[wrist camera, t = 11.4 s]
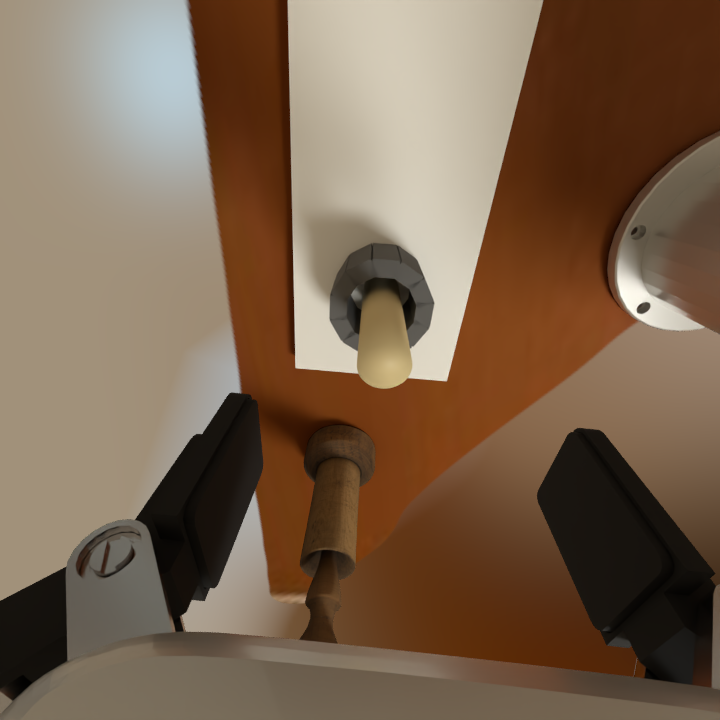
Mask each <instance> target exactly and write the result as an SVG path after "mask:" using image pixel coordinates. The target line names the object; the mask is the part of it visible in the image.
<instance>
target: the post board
mask: <svg viewBox="0 0 720 720" xmlns="http://www.w3.org/2000/svg"><path fill="white" fill-rule="evenodd" d="M542 4H543V0H288V38H289V85H290V131H291V178H292V225H293V271H294V318H295V365H296V368H302V369H313V370H325V371H336V372H347V373H359V375H360V377H361V378H362V379H363V380H364V381H365V382H366V383H367V384H369V385H371V386H373V387H377V388H392V387H395V386H398V385H400V384H401V383H403V382H404V381H405V380H406V379H407V378H416V379H427V380H439V381H447V378H448V374H449V370H450V366H451V362H452V358H453V354H454V351H455V347H456V343H457V339H458V335H459V331H460V327H461V323H462V319H463V315H464V311H465V307H466V303H467V299H468V295H469V291H470V288H471V284H472V280H473V276H474V272H475V268H476V264H477V260H478V256H479V252H480V248H481V244H482V240H483V236H484V232H485V228H486V225H487V221H488V217H489V213H490V209H491V205H492V201H493V197H494V193H495V189H496V185H497V181H498V177H499V173H500V169H501V165H502V162H503V158H504V154H505V150H506V146H507V142H508V138H509V134H510V130H511V126H512V122H513V118H514V114H515V110H516V106H517V102H518V99H519V95H520V91H521V87H522V83H523V79H524V75H525V71H526V67H527V63H528V59H529V55H530V51H531V47H532V43H533V39H534V36H535V32H536V28H537V24H538V20H539V16H540V12H541V8H542ZM371 243H372V245H373V243H381V244H393V245H397V246H400V247H401V248H402V249H404V250H405V251H406V252H408V253H409V254H410V255H412V256H413V257H415V258H416V259H417V260H418V263H419V265H420V268H421V270H422V272H423V275H424V277H425V280H426V282H427V285H428V287H429V290H430V292H431V295H432V297H433V300H434V308H433V314H432V319H431V324H430V327H429V329H428V331H427V332H426V333H425V334H424V335H423V336H422V338H421V339H420V340H419V341H418V342H417V343H416V344H415V346H414V347H413V346H412V348H410V347H409V341H408V336H407V330H406V325H405V319H404V314H403V308H402V306H403V304H404V303H405V302H406V301H407V299H408V296H409V289H408V288H407V287H405V286H404V285H403V284H401V283H400V282H398V281H397V280H395V279H392V278H379V277H374V278H372V279H370V280H368V281H365V282H363V283H361V284H359V285H357V287H356V288H355V290H354V291H353V292H352V294H351V296H352V298H353V300H354V302H355V304H356V306H357V307H358V308H359V309H361V310H362V311H361V322H360V333H359V344H358V351H356V350H354V349H353V348H351V347H350V346H348V345H346V344H345V343H343V341H341V340H340V338H339V336H338V334H337V333H336V331H335V329H334V327H333V326H332V324H331V322H330V319H329V312H330V293H331V290H332V287H333V284H334V281H335V278H336V275H337V273H338V271H339V270H340V268H341V267H342V265H343V264H344V262H345V261H346V259H347V257H348V256H349V255H350V254H351V253H352V252H355V251H357V250H359V249H361V248H363V247H365V246H367V245H369V244H371Z"/></svg>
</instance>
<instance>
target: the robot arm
mask: <svg viewBox="0 0 720 720" xmlns="http://www.w3.org/2000/svg"><path fill="white" fill-rule="evenodd" d="M607 272H608V281H609V287H610V289H611V292H612V294H613V297H614V299H615V300H616V302H617V303H618V304H619V306H620V307H621V308H622V310H624V311H625V312H626V313H628V314H629V315H630V316H631V317H633V318H634V319H636V320H638V321H640V322H642V323H643V324H645V325H647V326H650V327H654V328H657V329H660V330H669V331H688V330H698V329H702V328H708V329H710V330H712V331H714V332H716V333H718V334H720V131H718V132H716V133H714V134H712V135H710V136H708V137H706V138H704V139H702V140H700V141H698V142H697V143H695V144H694V145H692V146H691V147H689V148H688V149H686V150H685V151H683V152H682V153H680V154H679V155H677V156H676V157H675V158H674V159H672V160H671V161H670V162H669V163H668V164H667V165H666V166H664V167H663V168H662V169H661V170H660V171H659V172H658V173H656V174H655V175H654V176H653V178H652V179H651V180H650V181H649V182H648V183H647V184H646V185H645V187H644V188H643V189H642V190H641V191H640V192H639V193H638V195H637V196H636V198H635V199H634V200H633V202H632V203H631V205H630V206H629V208H628V209H627V211H626V212H625V214H624V216H623V218H622V220H621V222H620V224H619V226H618V228H617V230H616V232H615V234H614V238H613V241H612V244H611V248H610V251H609V258H608V267H607ZM262 469H263V455H262V445H261V434H260V424H259V414H258V404H257V401H256V400H252V397H251V395H249V394H240V393H230V394H229V395H228V396H227V397H226V399H225V401H224V402H223V404H222V405H221V407H220V408H219V410H218V411H217V413H216V414H215V416H214V417H213V419H212V420H211V422H210V424H209V425H208V426H207V428H206V429H205V431H204V432H203V434H196V435H194V436H193V438H191V440H190V441H189V442H188V444H187V445H186V447H185V448H184V450H183V451H182V453H181V454H180V455H179V457H178V458H177V460H176V461H175V463H174V464H173V466H172V467H171V468H170V470H169V471H168V473H167V474H166V476H165V477H164V479H163V480H162V482H161V483H160V485H159V486H158V487H157V489H156V490H155V492H154V493H153V494H152V496H151V497H150V499H149V500H148V502H147V503H146V505H145V506H144V508H143V509H142V511H141V512H140V513H139V515H138V516H137V518H136V519H135V520H131V519H127V520H118V521H115V522H112V523H109V524H106V525H104V526H102V527H100V528H99V529H97V530H95V531H93V532H92V533H91V534H90V535H88V536H87V537H86V538H85V539H83V540H82V541H81V543H80V544H79V545H78V546H77V547H76V548H75V549H74V551H73V552H72V554H71V556H70V558H69V560H68V562H67V567H65V568H63V569H61V570H59V571H57V572H55V573H53V574H51V575H49V576H47V577H46V578H44V579H42V580H40V581H38V582H36V583H34V584H32V585H30V586H28V587H26V588H24V589H22V590H20V591H18V592H17V593H15V594H13V595H11V596H9V597H7V598H5V599H3V600H1V601H0V720H720V585H718V586H715V584H714V583H713V582H712V580H711V579H710V578H711V577H712V576H713V575H714V574H715V573H714V571H713V570H712V569H711V567H710V566H709V565H708V564H707V562H706V561H705V560H704V559H703V557H702V556H701V555H700V554H699V552H698V551H697V550H696V549H695V547H694V546H693V545H692V544H691V542H690V541H689V540H688V539H687V537H686V536H685V535H684V533H683V532H682V531H681V530H680V528H679V527H678V526H677V525H676V523H675V522H674V521H673V520H672V518H671V517H670V516H669V515H668V513H667V512H666V511H665V510H664V508H663V507H662V506H661V505H660V503H659V502H658V501H657V500H656V498H655V497H654V496H653V495H652V493H650V491H649V489H648V488H647V487H646V486H645V485H644V483H643V482H642V481H641V479H640V478H639V477H638V476H637V474H636V473H635V472H634V471H633V469H632V468H631V467H630V466H629V465H628V463H627V462H626V461H625V459H624V458H623V457H622V456H621V454H620V453H619V452H618V451H617V449H616V448H615V447H614V446H613V444H612V443H611V442H610V441H609V439H608V438H607V437H606V435H605V434H604V433H603V432H601V431H600V430H594V429H584V428H577V429H575V430H574V432H571V433H569V434H568V435H567V437H566V439H565V441H564V443H563V445H562V447H561V449H560V450H559V452H558V454H557V456H556V458H555V460H554V462H553V464H552V465H551V467H550V469H549V471H548V473H547V475H546V477H545V479H544V481H543V482H542V484H541V486H540V488H539V490H538V493H537V499H538V503H539V505H540V507H541V510H542V512H543V514H544V516H545V519H546V521H547V523H548V526H549V528H550V530H551V532H552V535H553V537H554V539H555V541H556V544H557V546H558V547H559V550H560V553H561V555H562V557H563V559H564V562H565V564H566V566H567V568H568V571H569V573H570V575H571V577H572V580H573V582H574V584H575V586H576V588H577V591H578V593H579V595H580V597H581V600H582V602H583V604H584V606H585V609H586V611H587V613H588V615H589V618H590V620H591V622H592V624H593V625H594V626H595V628H596V629H598V630H600V632H601V634H602V636H603V638H604V640H605V643H606V645H609V646H617V647H626V648H629V647H630V646H632V648H633V650H634V651H635V654H636V655H637V661H636V667H635V672H634V677H629V676H620V675H612V674H602V673H594V672H585V671H577V670H569V669H560V668H552V667H543V666H534V665H525V664H517V663H508V662H499V661H490V660H481V659H472V658H463V657H454V656H445V655H436V654H427V653H418V652H409V651H400V650H391V649H381V648H371V647H362V646H352V645H343V644H334V643H324V642H315V641H305V640H296V639H285V638H274V637H263V636H251V635H239V634H227V633H211V632H186V630H185V627H184V623H183V619H182V615H183V614H184V613H186V611H187V609H188V607H189V605H190V602H191V600H199V601H205V599H206V596H207V594H208V591H209V589H210V588H215V587H216V586H217V585H218V583H219V581H220V578H221V576H222V573H223V571H224V568H225V565H226V563H227V560H228V558H229V555H230V553H231V550H232V547H233V545H234V542H235V540H236V537H237V535H238V532H239V530H240V527H241V524H242V522H243V519H244V517H245V514H246V512H247V509H248V507H249V504H250V501H251V499H252V496H253V494H254V491H255V489H256V486H257V484H258V481H259V478H260V476H261V473H262Z"/></svg>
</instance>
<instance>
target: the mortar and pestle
mask: <svg viewBox="0 0 720 720" xmlns="http://www.w3.org/2000/svg"><path fill="white" fill-rule="evenodd" d="M304 468H305V471H306V473H307V475H308V476H309V477H310V479H311V480H313V481H314V482H315V486H314V491H313V497H312V502H311V507H310V513H309V518H308V523H307V529H306V534H305V539H304V544H303V549H302V554H301V560H300V566H301V569H302V570H303V572H304V573H306V574H307V575H308V576H310V577H313V580H312V583H311V585H310V588H309V590H308V593H307V597H306V601H305V604H306V606H307V607H308V608H309V609H310V614H311V617H310V621H309V624H308V627H307V629H306V630H305V632H304V634H303V635H302V636H301V638H300V640H305V641H315V642H324V643H334V644H337V641H336V638H335V635H334V632H333V618H334V614H335V612H336V611H338V610H339V609H340V607H341V592H340V584H339V580H341V579H344V578H346V577H348V576H349V575H351V574H352V573H353V571H354V569H355V561H356V536H357V516H358V499H359V487H360V486H362V485H364V484H366V483H367V482H368V481H369V480H370V479H371V477H372V475H373V473H374V469H375V446H374V444H373V441H372V440H371V438H370V437H369V436H368V435H367V434H366V433H364V432H363V431H361V430H359V429H357V428H354V427H351V426H346V425H332V426H327V427H324V428H322V429H320V430H318V431H317V432H315V433H314V434H313V435H312V437H311V438H310V440H309V442H308V445H307V449H306V454H305V458H304Z"/></svg>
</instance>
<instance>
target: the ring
mask: <svg viewBox="0 0 720 720" xmlns="http://www.w3.org/2000/svg"><path fill="white" fill-rule="evenodd" d="M374 277H379V278H392V279H395V280H397V281H398V282H400V283H401V284H403V285H404V286H405V287H407V288H408V289H409V296H408V299H407V301H406V302H405V303H404V304H403V306H402V308H403V314H404V319H405V325H406V330H407V336H408V341H409V347H410V348H412V346H413V347H414V346H415V344H416V343H417V342H418V341H419V340H420V339H421V338H422V336H423V335H424V334H425V333H426V332H427V331H428V329H429V327H430V324H431V319H432V314H433V308H434V300H433V297H432V295H431V292H430V290H429V287H428V285H427V282H426V280H425V277H424V275H423V272H422V270H421V268H420V265H419V263H418V260H417V259H416V258H415V257H413V256H412V255H410V254H409V253H408V252H406V251H405V250H404V249H402V248H401V247H400V246H397V245H393V244H381V243H373V245H372V243H371V244H369V245H367V246H365V247H363V248H361V249H359V250H357V251H355V252H352V253H351V254H350V255H349V256H348V257H347V259H346V261H345V262H344V264H343V265H342V267H341V268H340V270H339V271H338V273H337V275H336V278H335V281H334V284H333V287H332V290H331V293H330V312H329V319H330V322H331V324H332V326H333V327H334V329H335V331H336V333H337V334H338V336H339V338H340V340H341V341H343V343H345V344H346V345H348V346H350V347H351V348H353V349H354V350H356V351H358V344H359V333H360V322H361V311H362V310H361V309H359V308H358V307H357V306H356V304H355V302H354V300H353V298H352V296H351V294H352V292H353V291H354V290H355V288H356V287H357V285H359V284H361V283H363V282H365V281H368V280H370V279H372V278H374Z"/></svg>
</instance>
